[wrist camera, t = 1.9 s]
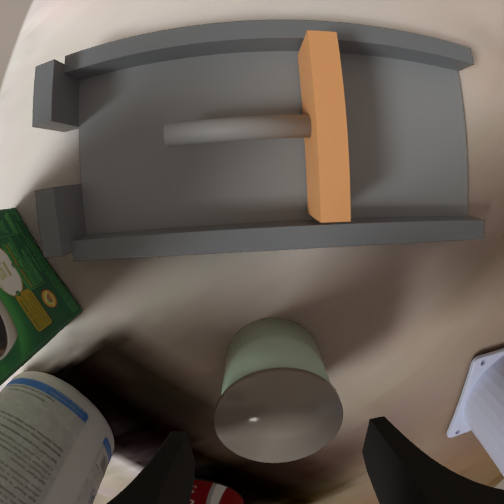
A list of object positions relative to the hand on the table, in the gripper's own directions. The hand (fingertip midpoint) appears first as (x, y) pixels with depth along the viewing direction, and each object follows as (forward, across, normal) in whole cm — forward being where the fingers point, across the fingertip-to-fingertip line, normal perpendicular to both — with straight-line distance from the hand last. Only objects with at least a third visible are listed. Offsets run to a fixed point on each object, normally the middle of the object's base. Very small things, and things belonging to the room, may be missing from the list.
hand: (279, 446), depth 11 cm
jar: (+7, 0, 0) cm, 7 cm away
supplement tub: (+7, +16, +6) cm, 18 cm away
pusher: (+6, 0, -12) cm, 14 cm away
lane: (+7, -1, -12) cm, 14 cm away
